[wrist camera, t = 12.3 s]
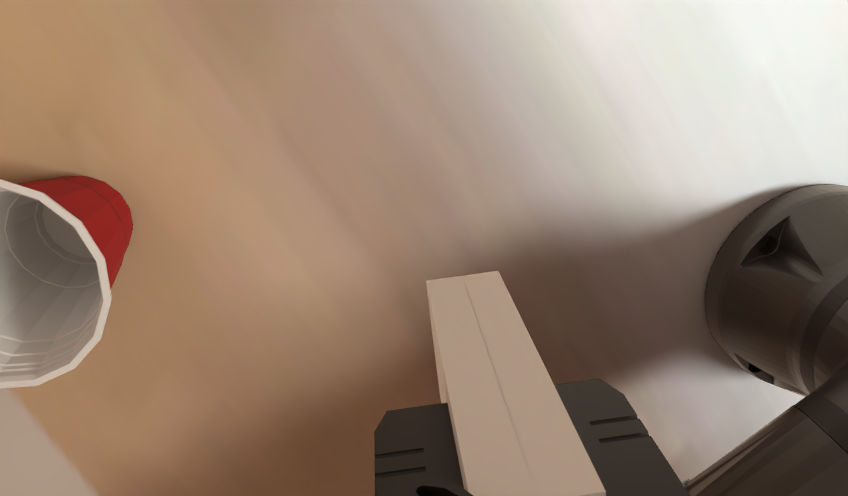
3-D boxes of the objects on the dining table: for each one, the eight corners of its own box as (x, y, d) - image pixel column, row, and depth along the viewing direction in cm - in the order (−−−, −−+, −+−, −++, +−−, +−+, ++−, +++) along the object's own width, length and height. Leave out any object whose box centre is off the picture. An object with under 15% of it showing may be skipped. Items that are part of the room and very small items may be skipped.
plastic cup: (178, 146, 41) (109, 199, 30) (170, 301, 45) (106, 399, 34) (-7, 118, 40) (-151, 163, 29) (0, 280, 43) (-126, 377, 32)
